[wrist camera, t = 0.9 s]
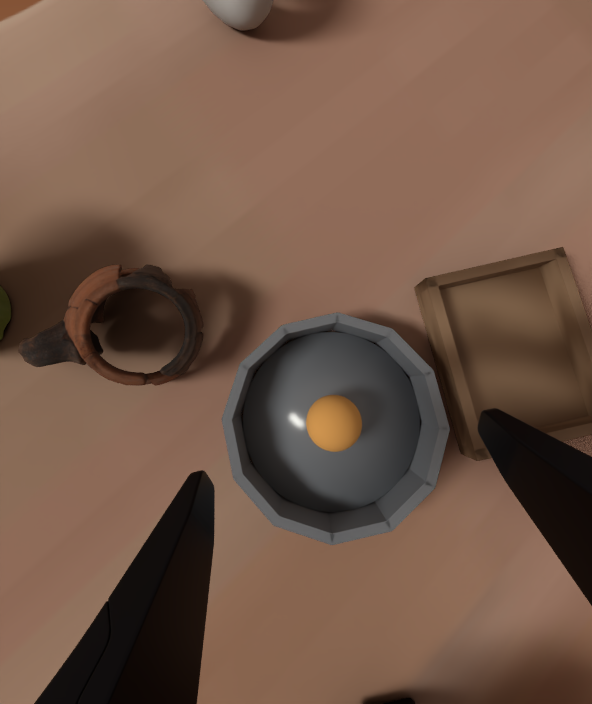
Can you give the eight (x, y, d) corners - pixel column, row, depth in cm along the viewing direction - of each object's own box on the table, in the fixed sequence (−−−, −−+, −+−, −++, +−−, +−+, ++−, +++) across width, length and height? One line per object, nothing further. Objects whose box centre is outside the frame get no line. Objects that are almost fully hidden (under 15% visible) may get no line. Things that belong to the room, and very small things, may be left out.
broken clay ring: (170, 251, 26) (171, 238, 18) (214, 345, 29) (231, 365, 22) (17, 303, 22) (-55, 311, 15) (87, 403, 26) (56, 450, 18)
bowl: (448, 493, 23) (473, 512, 19) (257, 537, 23) (250, 564, 19) (397, 306, 24) (412, 295, 21) (219, 347, 24) (206, 342, 21)
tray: (594, 422, 23) (625, 426, 21) (460, 453, 23) (477, 461, 21) (539, 258, 25) (563, 246, 22) (414, 287, 25) (425, 278, 22)
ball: (361, 438, 23) (374, 450, 19) (312, 450, 23) (314, 464, 19) (349, 388, 23) (359, 389, 19) (300, 399, 23) (300, 403, 19)
